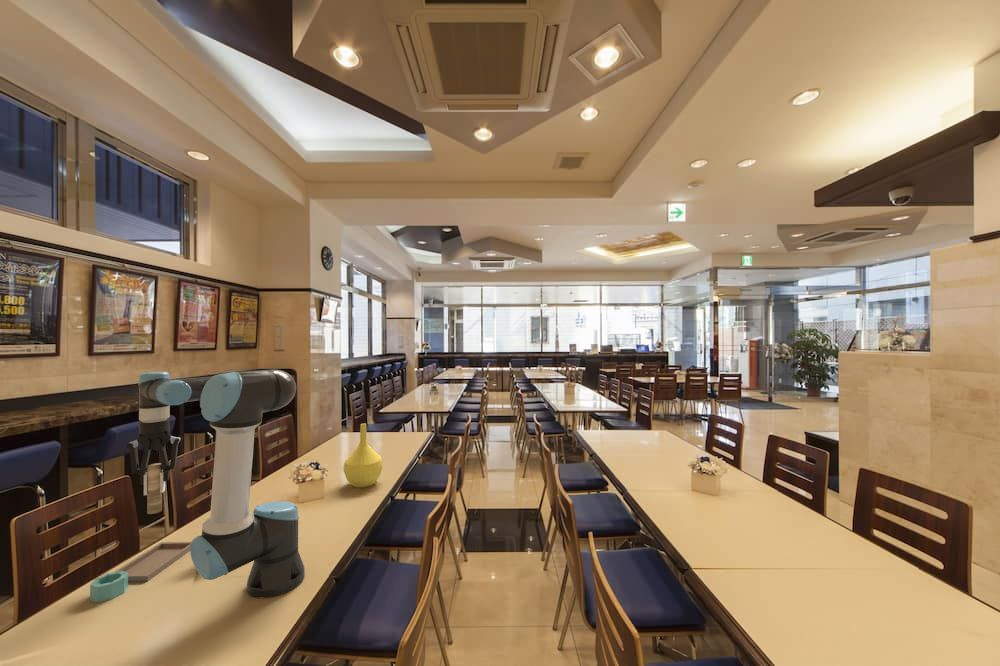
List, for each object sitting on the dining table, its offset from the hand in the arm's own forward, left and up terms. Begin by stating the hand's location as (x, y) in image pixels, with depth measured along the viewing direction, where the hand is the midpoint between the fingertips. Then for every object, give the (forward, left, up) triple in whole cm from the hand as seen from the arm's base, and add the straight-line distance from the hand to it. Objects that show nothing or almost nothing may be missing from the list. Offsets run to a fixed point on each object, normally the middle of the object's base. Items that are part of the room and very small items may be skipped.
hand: (154, 492), depth 131 cm
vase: (+42, -71, -24) cm, 86 cm away
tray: (0, 0, -23) cm, 23 cm away
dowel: (0, 0, -6) cm, 6 cm away
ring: (-14, +7, -23) cm, 28 cm away
